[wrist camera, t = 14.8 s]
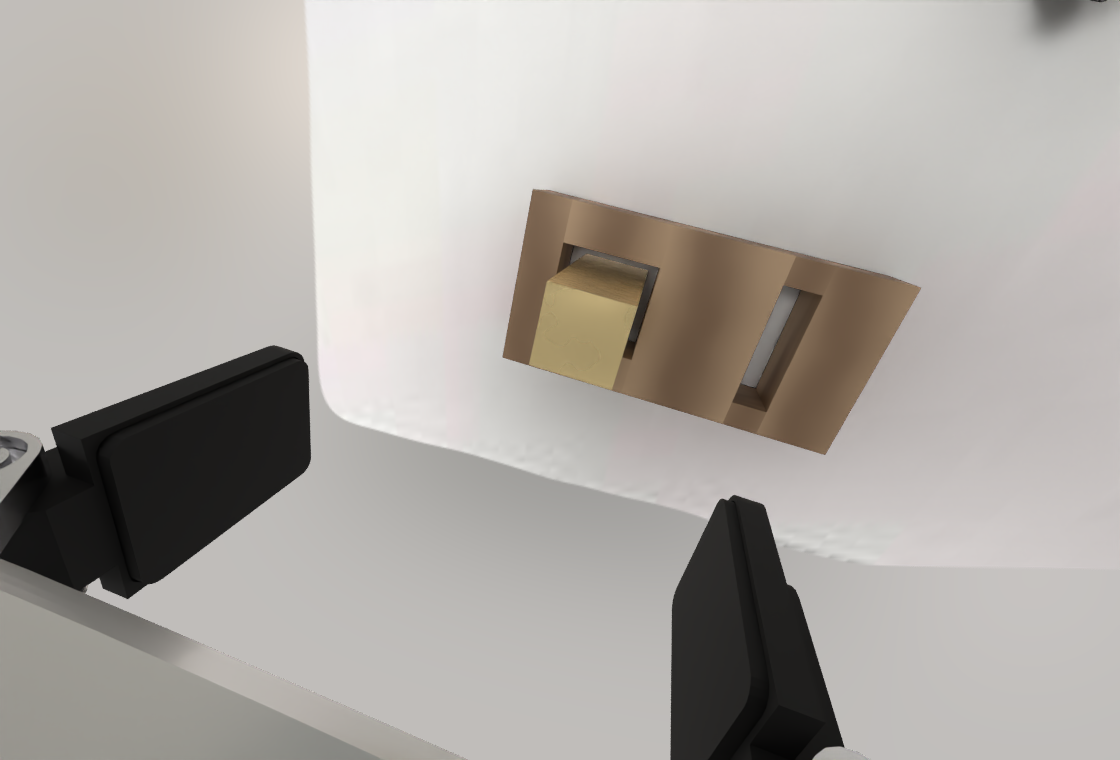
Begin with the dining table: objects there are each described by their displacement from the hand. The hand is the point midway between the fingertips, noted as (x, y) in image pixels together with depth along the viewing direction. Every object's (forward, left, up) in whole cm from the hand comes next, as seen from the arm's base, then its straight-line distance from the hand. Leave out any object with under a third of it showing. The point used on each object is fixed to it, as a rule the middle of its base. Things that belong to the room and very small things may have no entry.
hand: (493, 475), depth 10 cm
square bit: (0, 0, -21) cm, 21 cm away
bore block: (-5, 0, -21) cm, 22 cm away
